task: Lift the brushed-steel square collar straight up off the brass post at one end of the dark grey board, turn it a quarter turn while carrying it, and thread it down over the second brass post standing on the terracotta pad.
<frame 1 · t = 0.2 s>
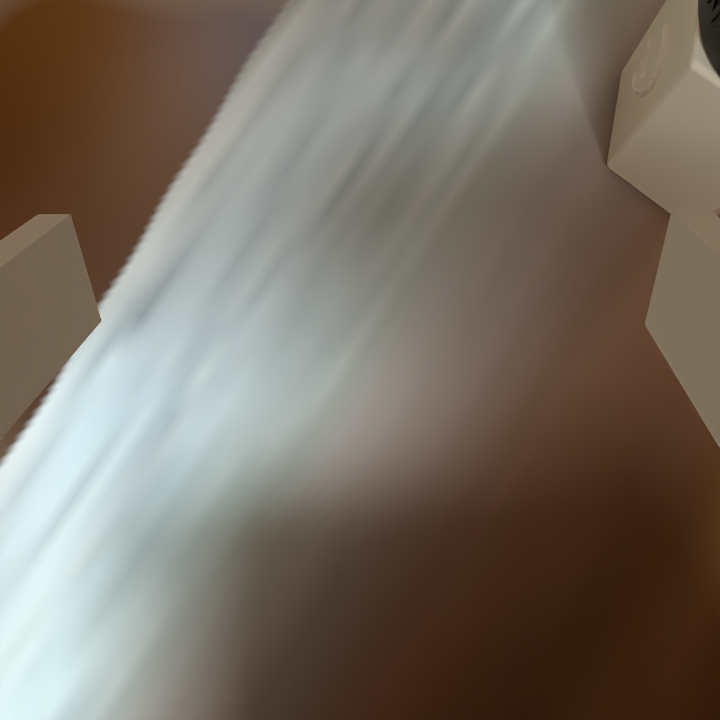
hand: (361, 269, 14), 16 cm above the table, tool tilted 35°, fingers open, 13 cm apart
jar: (698, 132, 29), on the table
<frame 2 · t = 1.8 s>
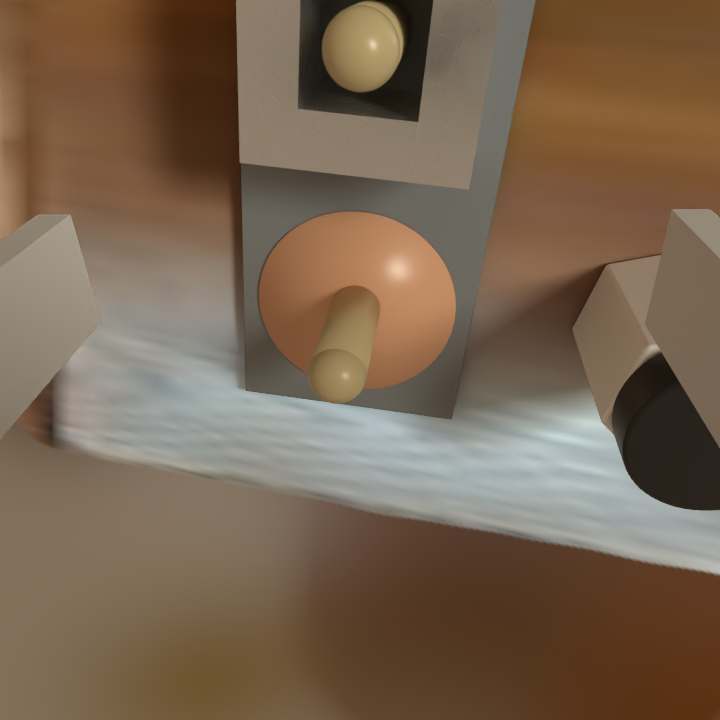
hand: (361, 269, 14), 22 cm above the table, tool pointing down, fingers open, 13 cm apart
post board: (368, 179, 35), on the table
jar: (648, 313, 38), on the table
collar: (380, 30, 31), point 1 cm above the table, touching post board
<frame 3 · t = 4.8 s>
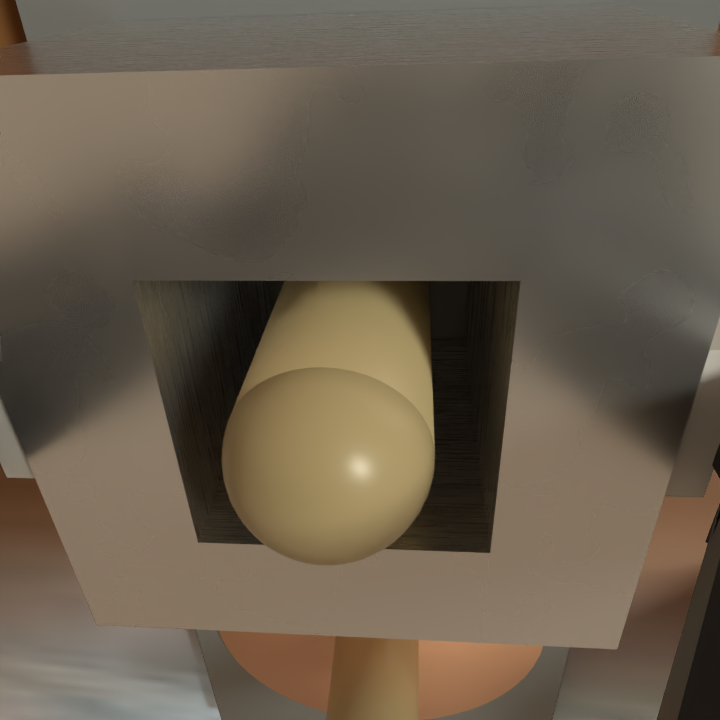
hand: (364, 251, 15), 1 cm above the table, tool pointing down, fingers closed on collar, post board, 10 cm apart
post board: (374, 456, 20), on the table
collar: (365, 248, 15), point 1 cm above the table, touching gripper
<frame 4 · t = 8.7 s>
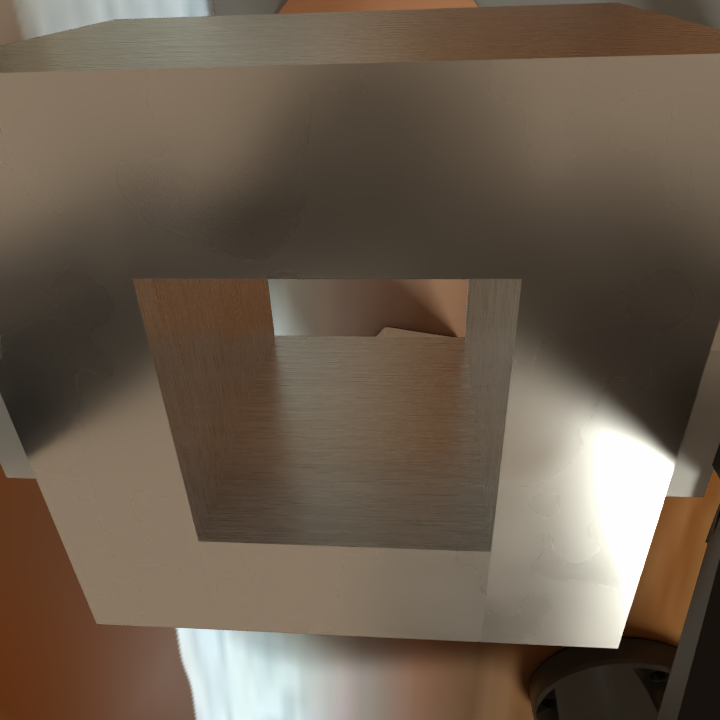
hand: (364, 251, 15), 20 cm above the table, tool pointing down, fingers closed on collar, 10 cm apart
post board: (532, 91, 31), on the table
jar: (410, 380, 41), on the table
collar: (365, 247, 15), point 20 cm above the table, touching gripper
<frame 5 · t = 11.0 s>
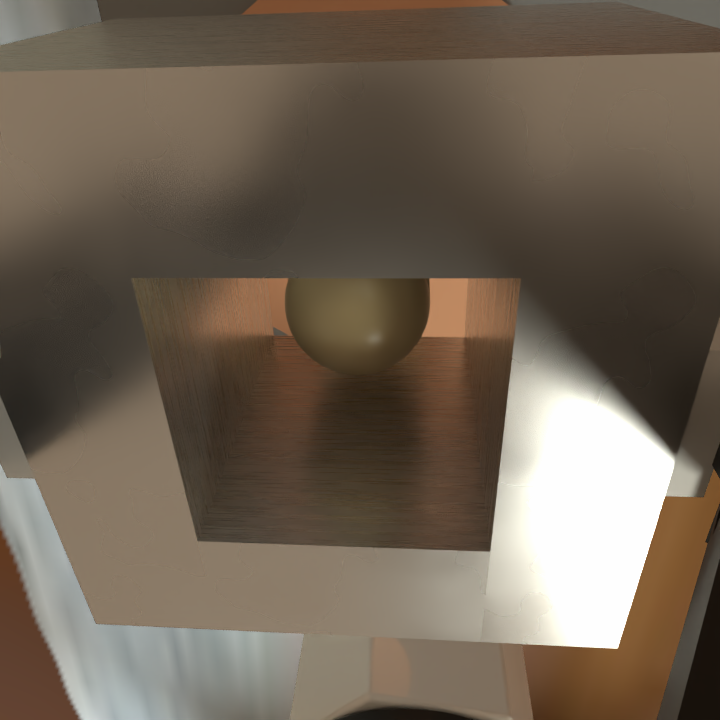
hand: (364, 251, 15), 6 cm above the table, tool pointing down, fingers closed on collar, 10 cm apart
post board: (620, 177, 20), on the table
jar: (415, 548, 30), on the table
collar: (365, 246, 15), point 6 cm above the table, touching gripper
when the fingers open (2 cm above the table, at t = 12.7 s): collar drops 1 cm, resting on post board.
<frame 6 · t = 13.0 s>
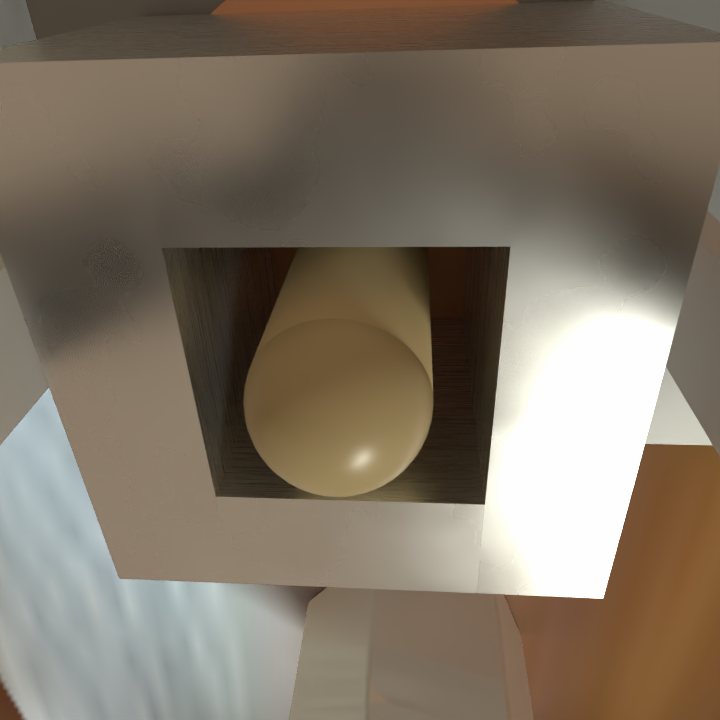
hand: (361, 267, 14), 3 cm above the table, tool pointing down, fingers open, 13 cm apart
post board: (657, 212, 17), on the table
jar: (414, 611, 27), on the table
collar: (368, 231, 16), point 1 cm above the table, touching post board
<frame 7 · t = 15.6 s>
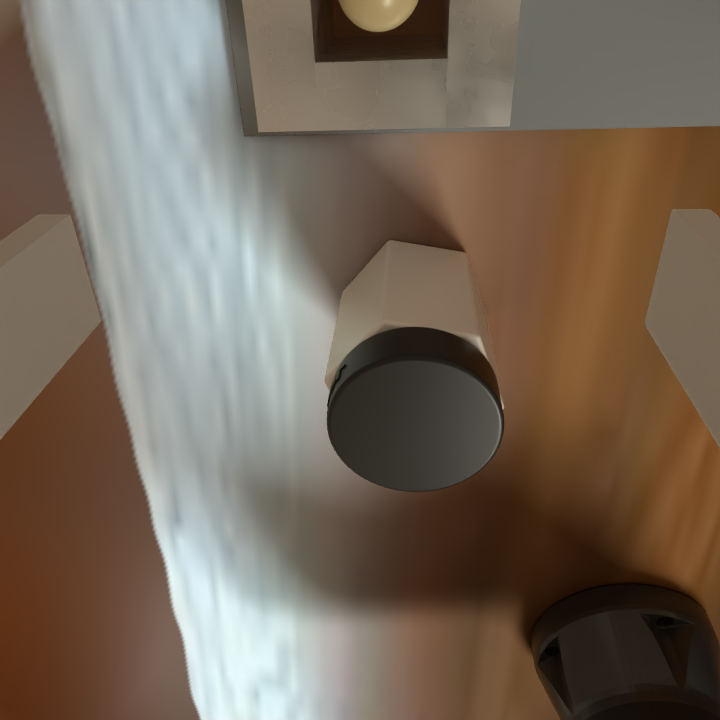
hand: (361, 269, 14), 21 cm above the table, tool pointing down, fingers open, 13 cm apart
jar: (414, 301, 39), on the table
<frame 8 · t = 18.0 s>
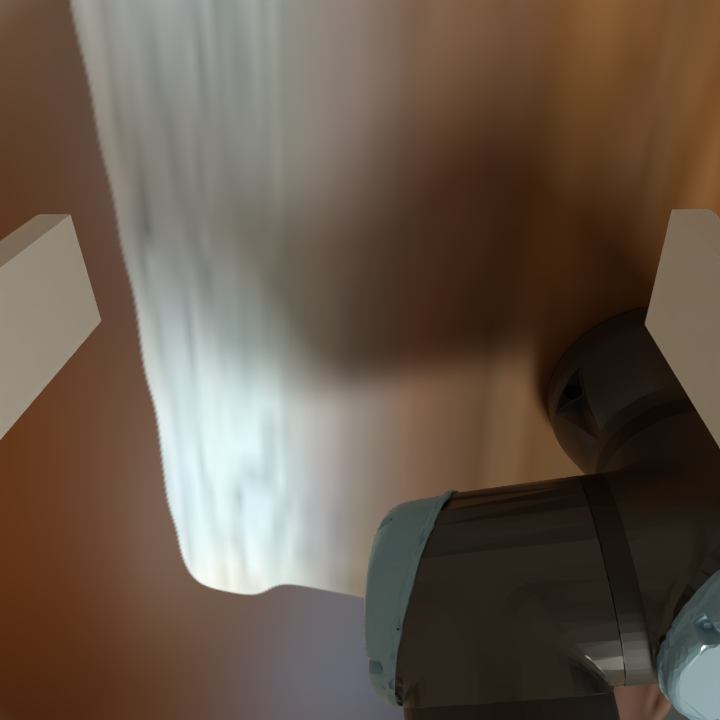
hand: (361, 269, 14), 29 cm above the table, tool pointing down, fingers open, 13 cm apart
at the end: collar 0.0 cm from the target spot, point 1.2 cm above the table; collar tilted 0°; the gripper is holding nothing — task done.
